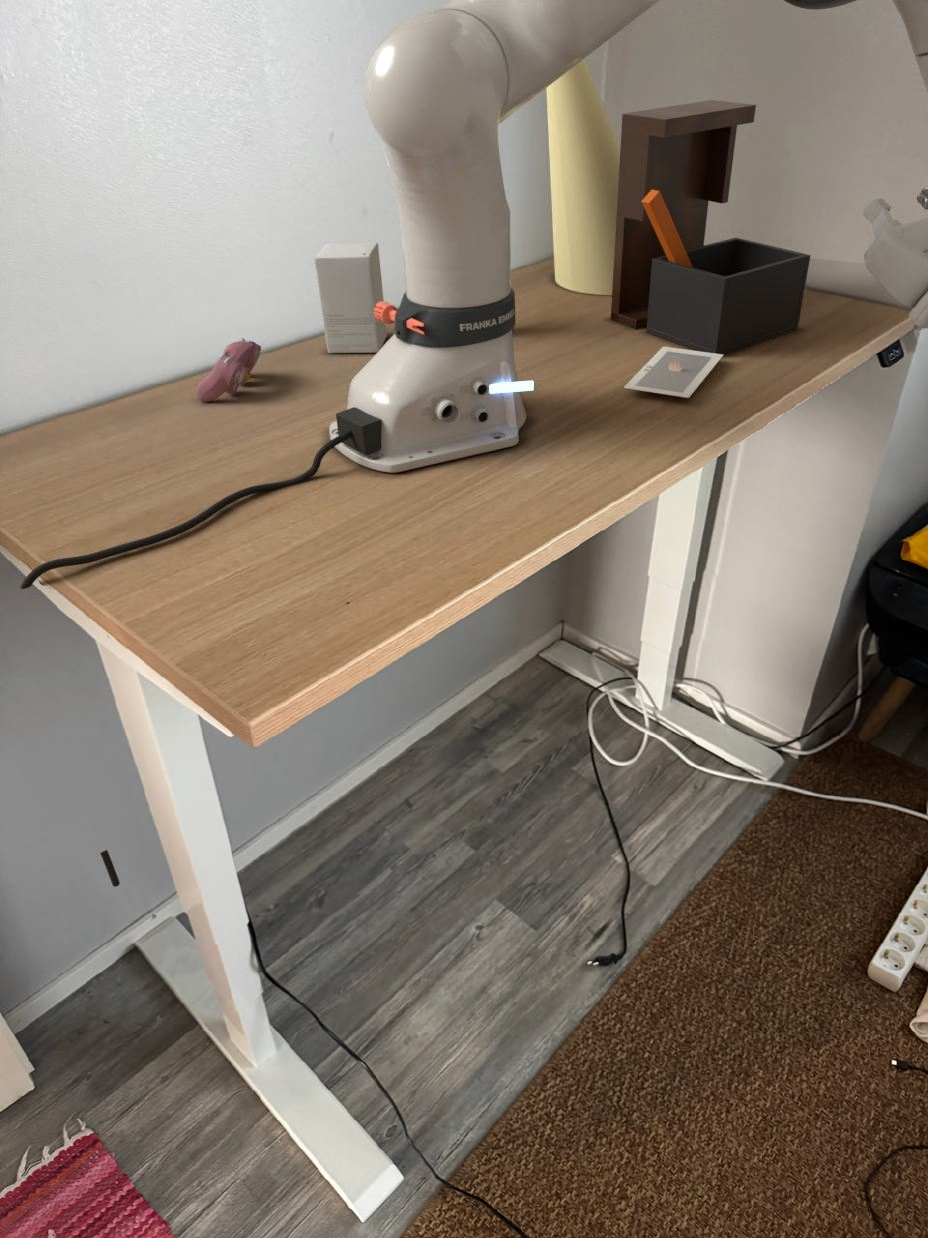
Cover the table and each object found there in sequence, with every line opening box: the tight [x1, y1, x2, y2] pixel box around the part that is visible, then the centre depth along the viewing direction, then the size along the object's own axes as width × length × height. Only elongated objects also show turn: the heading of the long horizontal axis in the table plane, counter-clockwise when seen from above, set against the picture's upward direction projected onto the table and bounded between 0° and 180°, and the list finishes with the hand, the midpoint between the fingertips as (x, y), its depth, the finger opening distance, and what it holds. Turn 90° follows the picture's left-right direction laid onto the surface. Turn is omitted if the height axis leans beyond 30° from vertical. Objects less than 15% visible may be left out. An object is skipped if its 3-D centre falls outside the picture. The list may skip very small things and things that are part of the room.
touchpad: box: [623, 346, 724, 399], centre depth 111 cm, size 8×15×2 cm, turn 152°
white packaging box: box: [313, 241, 388, 354], centre depth 122 cm, size 7×7×13 cm
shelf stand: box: [610, 99, 757, 330], centre depth 124 cm, size 16×8×26 cm, turn 125°
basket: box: [646, 237, 812, 356], centre depth 122 cm, size 16×13×10 cm
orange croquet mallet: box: [642, 190, 693, 268], centre depth 117 cm, size 6×21×5 cm
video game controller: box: [195, 337, 262, 403], centre depth 113 cm, size 10×5×7 cm, turn 168°
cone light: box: [545, 58, 620, 296], centre depth 135 cm, size 25×18×35 cm
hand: (898, 197), depth 98 cm, fingers open, 8 cm apart
